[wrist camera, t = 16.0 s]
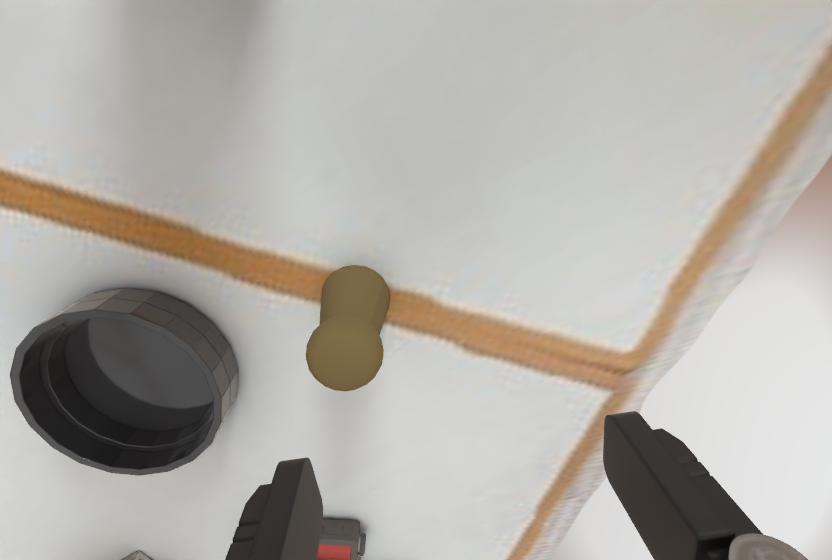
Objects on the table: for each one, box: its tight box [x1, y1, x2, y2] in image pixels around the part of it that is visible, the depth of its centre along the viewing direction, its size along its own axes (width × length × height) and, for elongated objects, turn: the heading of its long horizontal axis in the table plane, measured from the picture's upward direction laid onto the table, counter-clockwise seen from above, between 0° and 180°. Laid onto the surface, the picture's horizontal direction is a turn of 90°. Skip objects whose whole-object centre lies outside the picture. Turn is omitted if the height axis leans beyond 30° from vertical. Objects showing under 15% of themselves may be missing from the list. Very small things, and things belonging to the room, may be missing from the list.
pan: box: [10, 288, 238, 475], centre depth 38 cm, size 16×16×5 cm
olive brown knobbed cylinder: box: [306, 265, 390, 391], centre depth 33 cm, size 6×6×11 cm
